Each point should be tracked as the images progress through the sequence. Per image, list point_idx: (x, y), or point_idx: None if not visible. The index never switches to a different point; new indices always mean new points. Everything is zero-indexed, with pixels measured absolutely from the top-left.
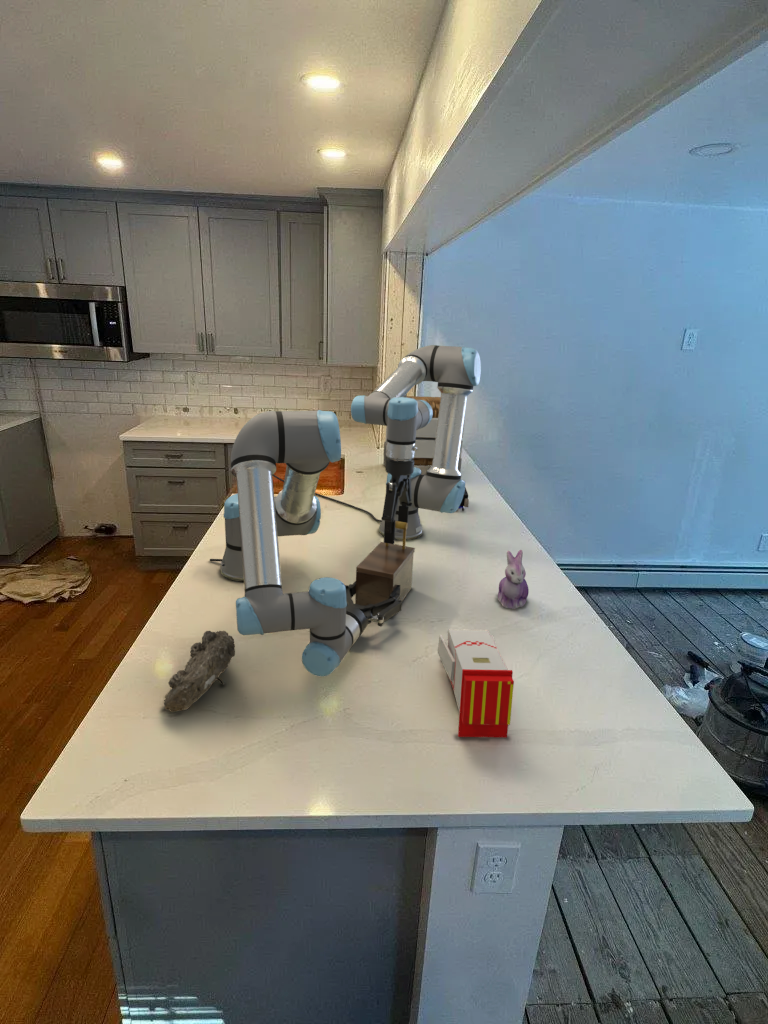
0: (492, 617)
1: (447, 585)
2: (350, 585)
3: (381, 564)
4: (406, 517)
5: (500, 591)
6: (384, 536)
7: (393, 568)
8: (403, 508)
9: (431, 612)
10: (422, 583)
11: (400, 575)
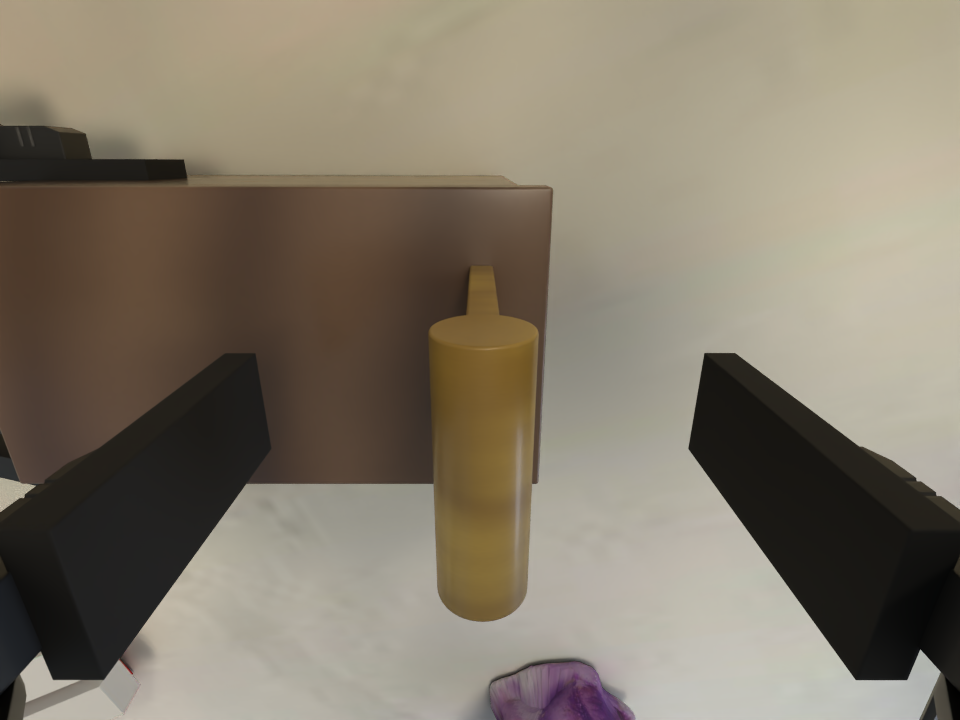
0: (407, 660)
1: (596, 490)
2: (40, 139)
3: (101, 361)
4: (756, 531)
5: (556, 693)
6: (186, 386)
7: None
8: (860, 588)
9: (333, 487)
10: (576, 391)
11: None
